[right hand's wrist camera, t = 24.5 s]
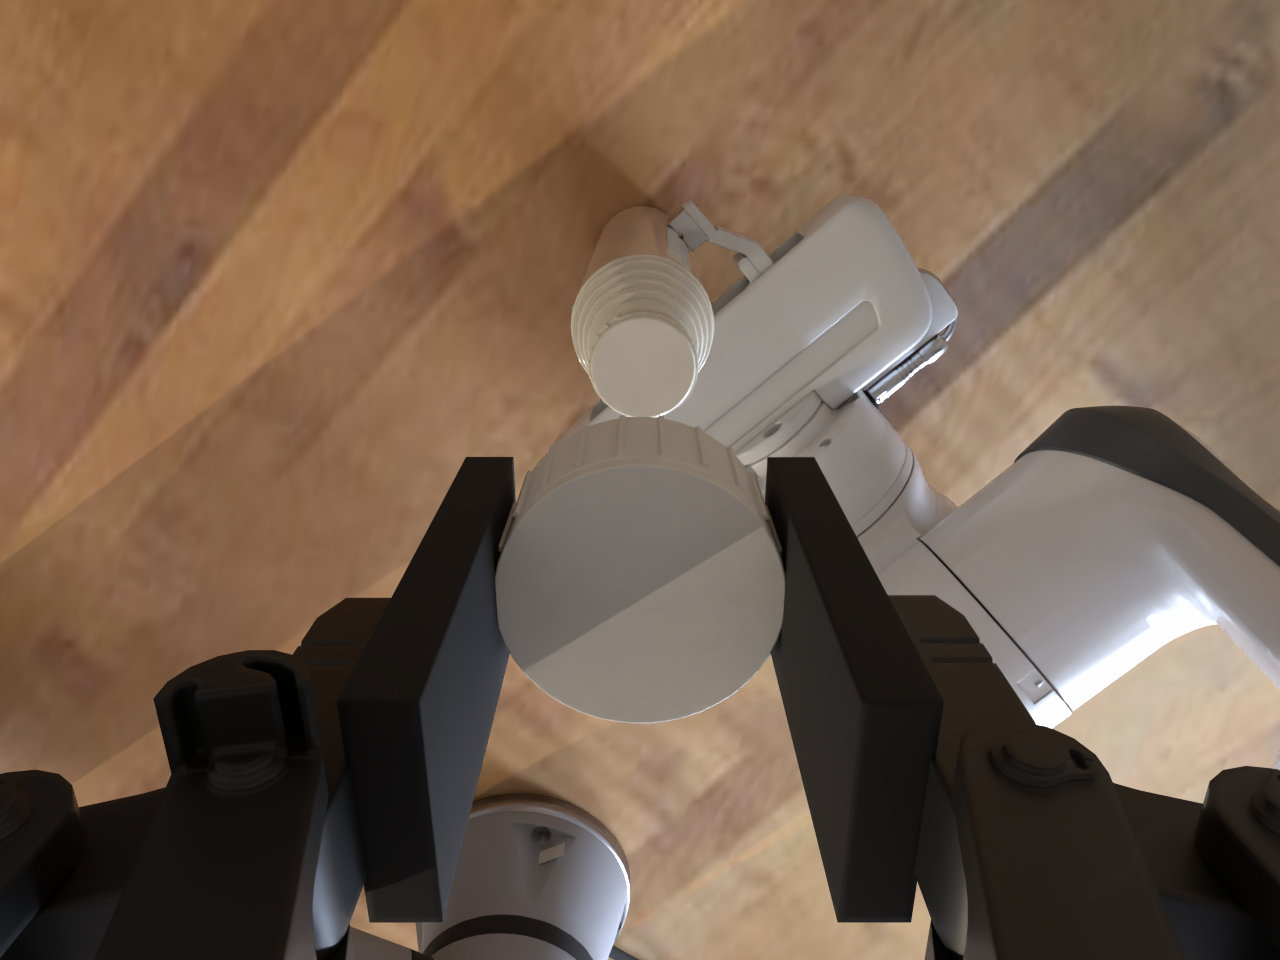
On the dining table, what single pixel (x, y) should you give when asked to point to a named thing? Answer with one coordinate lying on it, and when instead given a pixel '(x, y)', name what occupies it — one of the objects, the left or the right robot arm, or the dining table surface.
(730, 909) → the dining table surface
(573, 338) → the bottle
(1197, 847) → the right robot arm
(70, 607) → the dining table surface
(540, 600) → the cap
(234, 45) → the dining table surface
